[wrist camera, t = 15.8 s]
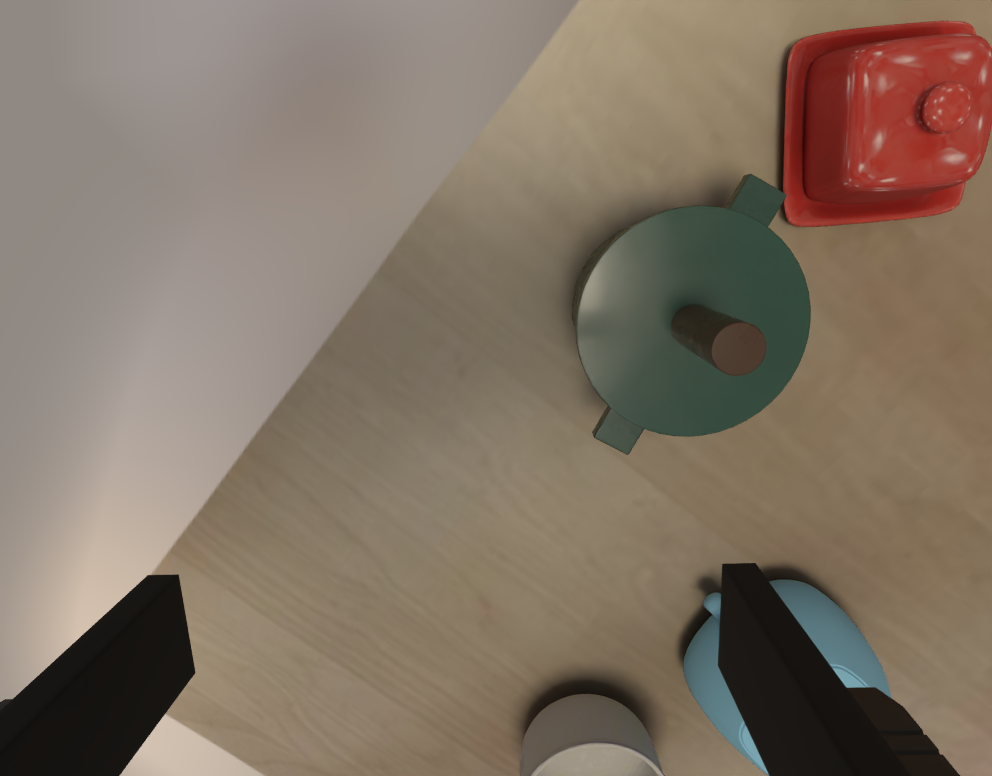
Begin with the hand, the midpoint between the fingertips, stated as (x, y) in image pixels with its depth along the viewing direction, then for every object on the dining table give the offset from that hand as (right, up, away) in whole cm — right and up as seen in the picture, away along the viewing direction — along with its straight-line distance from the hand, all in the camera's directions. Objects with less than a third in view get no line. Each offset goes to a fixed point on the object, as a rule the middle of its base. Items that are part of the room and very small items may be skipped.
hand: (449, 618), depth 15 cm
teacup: (+9, -24, +37) cm, 45 cm away
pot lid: (+12, +9, +20) cm, 25 cm away
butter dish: (+25, +22, +26) cm, 42 cm away
